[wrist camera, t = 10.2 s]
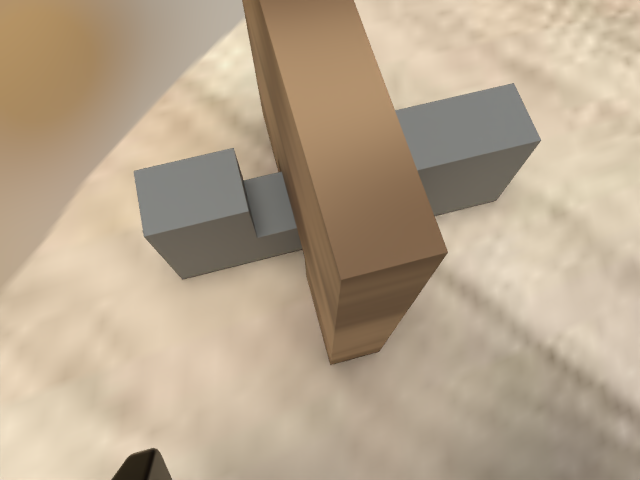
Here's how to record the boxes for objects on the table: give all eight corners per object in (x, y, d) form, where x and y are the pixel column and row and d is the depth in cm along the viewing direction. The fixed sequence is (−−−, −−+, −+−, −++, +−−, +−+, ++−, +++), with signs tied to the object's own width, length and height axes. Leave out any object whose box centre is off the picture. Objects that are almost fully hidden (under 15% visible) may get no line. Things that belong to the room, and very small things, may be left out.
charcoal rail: (475, 152, 24) (513, 83, 19) (496, 200, 23) (540, 140, 18) (172, 225, 23) (133, 171, 18) (182, 279, 22) (144, 236, 17)
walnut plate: (378, 351, 21) (448, 252, 9) (330, 364, 20) (340, 280, 9) (304, 105, 25) (289, -171, 13) (263, 114, 24) (213, -158, 13)
